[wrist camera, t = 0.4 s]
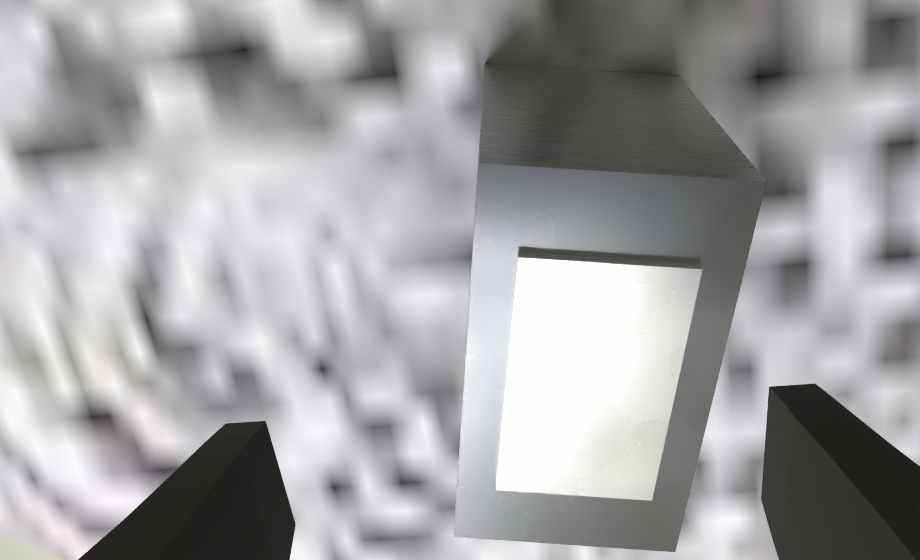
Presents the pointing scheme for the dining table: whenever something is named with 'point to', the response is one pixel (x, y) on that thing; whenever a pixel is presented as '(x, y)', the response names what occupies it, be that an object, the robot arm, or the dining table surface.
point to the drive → (596, 304)
